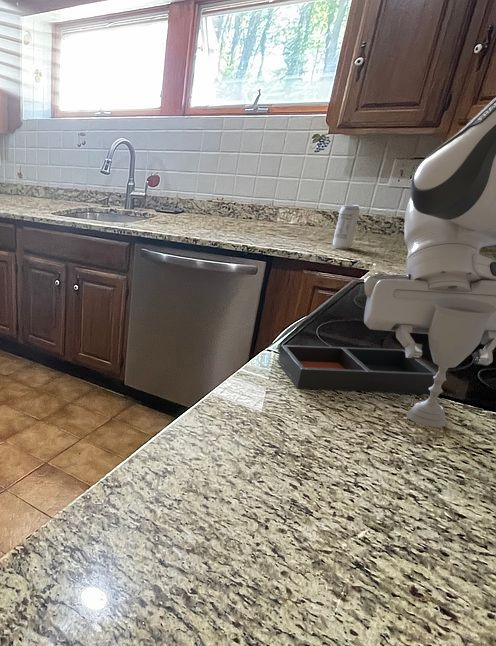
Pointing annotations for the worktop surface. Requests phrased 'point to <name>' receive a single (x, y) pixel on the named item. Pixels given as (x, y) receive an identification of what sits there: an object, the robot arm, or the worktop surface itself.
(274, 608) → the worktop surface
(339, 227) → the energy drink can
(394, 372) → the tray
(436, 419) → the chalice
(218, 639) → the worktop surface
